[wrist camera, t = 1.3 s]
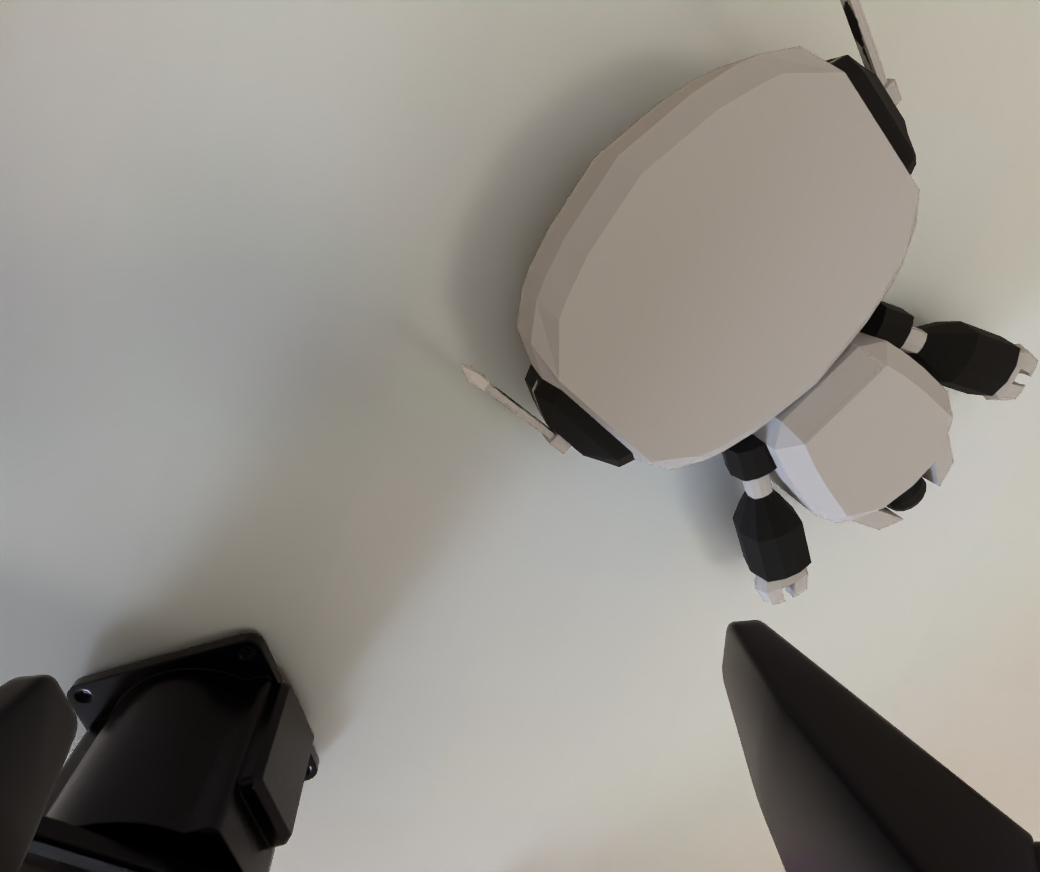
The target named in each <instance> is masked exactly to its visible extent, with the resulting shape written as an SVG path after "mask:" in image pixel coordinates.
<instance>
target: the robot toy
mask: <svg viewBox="0 0 1040 872" xmlns="http://www.w3.org/2000/svg"><path fill="white" fill-rule="evenodd" d="M840 1H841V4H842V6H843V9H844V12H845V15H846V17H847V20H848V23H849V25H850V28H851V31H852V34H853V36H854V39H855V42H856V44H857V47H858V50H859V53H860V55H861V58H862V61H863V63H864V66H865V67H863V66H862V65H860V64H859V63H858V62H857V61H855V60H854V59H853V58H851V57H850V56H849V55H845V56H841V57H838V58H834V59H830V60H827V61H825V60H823V59H821V58H819V57H818V56H816V55H814V54H812V53H811V52H809V51H807V50H806V49H804V48H802V47H800V46H799V47H794V48H789V49H784V50H779V51H774V52H769V53H764V54H759V55H755V56H752V57H749V58H746V59H743V60H740V61H738V62H735V63H732V64H729V65H726V66H723V67H720V68H717V69H715V70H713V71H711V72H709V73H707V74H705V75H702V76H700V77H698V78H696V79H695V80H693V81H692V82H690V83H689V84H687V85H685V86H684V87H682V88H681V89H679V90H678V91H676V92H675V93H673V94H672V95H670V96H669V97H667V98H666V99H664V100H663V101H661V102H660V103H658V104H657V105H656V106H655V107H654V108H652V109H651V110H650V111H649V112H648V113H647V114H645V115H644V116H643V117H642V118H641V119H639V120H638V121H637V122H636V123H635V124H634V125H632V126H631V127H630V128H629V129H628V130H627V131H625V132H624V133H623V134H622V135H621V136H619V137H618V138H617V139H616V140H615V141H614V142H612V143H611V144H610V145H609V146H608V147H607V148H605V149H604V150H603V151H602V152H601V153H599V154H598V155H597V156H596V157H595V158H594V159H593V160H592V162H591V164H590V165H589V167H588V168H587V170H586V171H585V173H584V174H583V176H582V178H581V179H580V181H579V182H578V184H577V185H576V187H575V188H574V190H573V192H572V193H571V195H570V196H569V198H568V199H567V201H566V202H565V204H564V206H563V207H562V209H561V210H560V212H559V213H558V215H557V216H556V218H555V219H554V221H553V223H552V224H551V226H550V227H549V229H548V230H547V232H546V235H545V237H544V239H543V241H542V243H541V245H540V247H539V249H538V251H537V253H536V255H535V257H534V259H533V261H532V263H531V265H530V267H529V270H528V273H527V276H526V278H525V281H524V284H523V287H522V292H521V299H520V307H519V315H518V323H517V329H518V331H519V334H520V336H521V339H522V341H523V344H524V347H525V349H526V352H527V354H528V357H529V359H530V362H531V366H530V368H529V370H528V373H527V375H526V377H525V381H526V383H527V386H528V388H529V391H530V393H531V396H532V398H533V400H534V402H535V404H536V406H537V408H538V410H539V412H540V414H541V416H542V417H543V419H544V420H545V422H546V424H547V425H548V426H549V427H547V426H546V425H545V424H544V423H542V422H541V421H540V420H538V419H537V418H536V417H534V416H533V415H532V414H531V413H529V412H528V411H527V410H525V409H524V408H523V407H521V406H520V405H519V404H517V403H516V402H515V401H514V400H512V399H511V398H510V397H508V396H507V395H506V394H504V393H503V392H502V391H500V390H499V389H498V388H497V387H495V386H494V385H493V384H491V383H490V382H489V381H488V380H487V379H486V377H485V376H484V375H483V374H481V373H480V372H479V371H477V370H476V369H475V368H474V367H472V366H467V365H460V367H461V369H462V371H463V372H464V374H465V376H466V377H467V379H468V380H469V381H470V382H471V383H473V384H474V385H475V386H477V387H478V388H479V389H481V390H482V391H483V390H485V391H487V392H488V393H489V394H491V395H492V396H493V397H495V398H496V399H497V400H499V401H500V402H501V403H503V404H504V405H505V406H507V407H508V408H509V409H511V410H512V411H513V412H515V413H516V414H517V415H519V416H520V417H521V418H523V419H524V420H525V421H527V422H528V423H529V424H531V425H532V426H533V427H535V428H536V429H537V430H539V431H540V432H541V433H542V434H543V436H544V437H545V438H546V439H547V441H548V442H549V443H550V444H551V445H552V446H553V447H555V448H556V449H557V450H559V451H560V452H562V453H563V454H564V453H565V452H566V451H567V450H568V448H569V447H570V446H571V445H572V446H573V447H574V448H575V449H576V450H577V451H579V452H580V453H581V454H582V455H584V456H587V457H590V458H593V459H597V460H600V461H603V462H606V463H609V464H612V465H615V466H618V467H621V466H623V465H625V464H627V463H629V462H631V461H632V460H638V461H641V462H645V463H649V464H652V465H656V466H659V467H663V468H667V469H670V470H671V469H675V468H678V467H682V466H686V465H690V464H693V463H697V462H701V461H704V460H707V459H709V458H711V457H713V456H715V455H717V454H719V453H721V452H722V453H723V457H724V461H725V464H726V466H727V468H728V470H729V472H730V474H731V475H732V476H734V477H736V478H739V479H741V480H743V484H744V488H745V492H744V494H743V495H742V497H741V499H740V501H739V503H738V506H737V508H736V511H735V513H734V516H733V521H734V524H735V528H736V531H737V535H738V538H739V542H740V545H741V549H742V552H743V556H744V558H745V560H746V563H747V565H748V567H749V569H750V571H751V572H753V573H754V574H756V577H755V588H756V590H757V592H758V593H759V595H760V596H761V598H762V599H763V601H766V602H768V603H770V604H780V603H782V602H784V601H785V600H784V596H783V591H782V588H784V587H785V589H786V591H787V592H789V593H790V594H791V596H792V597H795V596H797V595H799V594H801V593H802V592H803V591H805V590H806V589H807V582H808V572H807V568H806V567H807V566H808V565H809V564H810V563H811V559H810V555H809V550H808V546H807V541H806V537H805V533H804V528H803V524H802V521H801V519H800V518H799V516H798V515H797V513H796V512H795V510H794V509H793V507H792V506H791V505H790V504H789V503H788V502H787V501H786V500H785V499H784V498H783V497H782V496H781V495H780V494H779V493H777V492H776V491H775V490H774V489H773V488H772V486H771V482H770V478H771V480H772V481H773V482H774V483H776V484H777V485H778V486H779V487H781V488H782V489H783V490H784V491H786V492H787V493H788V494H789V495H791V496H792V497H793V498H794V499H796V500H797V501H798V502H799V503H801V504H802V505H803V506H804V507H806V508H807V509H808V510H809V511H811V512H812V513H813V514H814V515H817V516H819V517H822V518H825V519H827V520H830V521H832V522H835V523H837V522H846V521H854V522H857V523H860V524H863V525H866V526H869V527H872V528H875V529H878V530H879V529H882V528H884V527H887V526H889V525H891V524H894V523H896V522H898V521H901V520H903V519H902V518H901V517H899V516H898V515H896V514H895V513H893V512H892V511H890V510H889V509H887V508H886V506H887V507H889V508H890V509H893V510H895V511H905V510H908V509H911V508H913V507H914V506H915V505H917V504H918V503H919V502H920V501H921V500H922V498H923V497H924V494H925V492H926V482H925V481H924V479H923V478H922V477H924V478H926V479H927V480H929V481H931V482H933V483H934V484H936V485H938V486H940V485H941V483H942V482H943V480H944V478H945V476H946V474H947V473H948V471H949V469H950V467H951V465H952V464H953V457H952V451H951V446H950V440H949V435H948V432H949V429H950V426H951V423H952V411H951V406H950V402H949V397H948V393H947V390H946V389H945V388H944V387H943V386H945V387H948V388H952V389H955V390H958V391H961V392H964V393H967V394H975V395H983V396H984V397H985V398H986V400H1011V399H1016V398H1017V396H1018V395H1019V394H1020V393H1021V392H1022V390H1023V388H1024V387H1025V385H1023V384H1018V383H1016V382H1015V381H1014V380H1015V378H1016V376H1017V375H1018V373H1022V374H1026V375H1028V376H1030V377H1031V375H1032V373H1033V372H1034V370H1035V368H1036V366H1037V363H1038V360H1037V359H1036V358H1035V357H1034V356H1033V355H1032V354H1031V353H1030V352H1029V351H1028V350H1026V349H1025V348H1024V347H1023V346H1022V345H1020V344H1015V345H1014V344H1013V343H1011V342H1009V341H1008V340H1006V339H1004V338H1003V337H1001V336H998V335H996V334H993V333H990V332H988V331H985V330H982V329H980V328H977V327H974V326H971V325H969V324H966V323H963V322H961V321H951V322H934V323H930V324H926V325H922V326H919V327H917V328H916V327H913V326H912V324H913V320H914V317H913V316H912V315H910V314H909V313H907V312H906V311H904V310H903V309H901V308H899V307H896V306H893V305H891V304H888V303H885V302H882V301H881V300H882V299H883V297H884V296H885V294H886V293H887V291H888V290H889V288H890V287H891V285H892V283H893V281H894V279H895V277H896V276H897V274H898V272H899V270H900V268H901V266H902V264H903V261H904V258H905V255H906V252H907V249H908V246H909V243H910V240H911V238H912V235H913V232H914V229H915V226H916V221H917V210H918V200H919V188H918V187H917V185H916V184H915V182H914V181H913V179H912V177H911V176H910V175H911V173H912V171H913V169H914V167H915V165H916V155H915V152H914V149H913V147H912V144H911V141H910V139H909V136H908V133H907V129H906V124H905V120H904V119H903V117H902V115H901V114H900V112H899V111H898V109H897V107H896V105H897V104H898V103H899V101H900V100H901V96H900V93H899V90H898V87H897V84H896V81H895V79H886V76H885V73H884V70H883V67H882V64H881V61H880V58H879V56H878V53H877V50H876V47H875V44H874V41H873V38H872V35H871V33H870V30H869V27H868V24H867V21H866V18H865V15H864V12H863V10H862V7H861V4H860V1H859V0H840ZM921 476H922V477H921ZM769 477H770V478H769Z"/></svg>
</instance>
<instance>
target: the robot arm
mask: <svg viewBox="0 0 1040 872" xmlns="http://www.w3.org/2000/svg"><path fill="white" fill-rule="evenodd" d="M248 646H249V647H251V648H253V649H254V651H247V650H245V649H244V648H243V647H248ZM722 672H723V679H724V684H725V688H726V691H727V695H728V698H729V702H730V705H731V709H732V712H733V716H734V719H735V723H736V726H737V730H738V733H739V737H740V741H741V744H742V748H743V751H744V755H745V758H746V762H747V765H748V769H749V772H750V776H751V779H752V782H753V786H754V789H755V792H756V796H757V799H758V802H759V804H760V807H761V810H762V812H763V815H764V818H765V820H766V823H767V825H768V828H769V830H770V833H771V835H772V838H773V840H774V843H775V845H776V848H777V850H778V853H779V855H780V858H781V860H782V863H783V865H784V868H785V870H786V872H1040V842H1037V841H1036V842H1033V838H1032V836H1031V835H1030V834H1029V833H1028V832H1027V831H1026V830H1024V829H1023V828H1022V827H1020V826H1019V825H1018V824H1017V823H1015V822H1014V821H1013V820H1012V819H1010V818H1009V817H1008V816H1007V815H1005V814H1004V813H1003V812H1002V811H1000V810H999V809H998V808H997V807H995V806H994V805H993V804H991V803H990V802H989V801H988V800H986V799H985V798H984V797H983V796H981V795H980V794H979V793H978V792H976V791H975V790H974V789H973V788H971V787H970V786H969V785H968V784H966V783H965V782H964V781H963V780H961V779H960V778H959V777H957V776H956V775H955V774H954V773H952V772H951V771H950V770H949V769H947V768H946V767H945V766H944V765H942V764H941V763H940V762H939V761H937V760H936V759H935V758H934V757H932V756H931V755H930V754H928V753H927V752H926V751H925V750H923V749H922V748H921V747H920V746H918V745H917V744H916V743H915V742H913V741H912V740H911V739H910V738H908V737H907V736H906V735H905V734H903V733H902V732H901V731H900V730H898V729H897V728H896V727H894V726H893V725H892V724H891V723H889V722H888V721H887V720H886V719H884V718H883V717H882V716H881V715H879V714H878V713H877V712H876V711H874V710H873V709H872V708H871V707H869V706H868V705H867V704H866V703H864V702H863V701H862V700H860V699H859V698H858V697H857V696H855V695H854V694H853V693H852V692H850V691H849V690H848V689H847V688H845V687H844V686H843V685H842V684H840V683H839V682H838V681H837V680H835V679H834V678H833V677H831V676H830V675H829V674H828V673H826V672H825V671H824V670H823V669H821V668H820V667H819V666H818V665H816V664H815V663H814V662H813V661H811V660H810V659H809V658H808V657H806V656H805V655H804V654H803V653H801V652H800V651H799V650H797V649H796V648H795V647H794V646H792V645H791V644H790V643H789V642H787V641H786V640H785V639H784V638H782V637H781V636H780V635H779V634H777V633H776V632H775V631H774V630H772V629H771V628H770V627H768V626H767V625H766V624H765V623H763V622H761V621H758V620H750V621H737V622H732V623H730V624H729V625H728V627H727V631H726V639H725V647H724V656H723V664H722ZM83 691H87V692H89V693H90V694H86V693H84V692H83ZM67 698H68V700H67ZM67 698H66V696H65V694H64V693H63V691H62V689H61V687H60V686H59V684H58V682H57V681H56V679H55V678H53V677H51V676H50V675H35V676H22V677H18V678H14V679H12V680H10V681H8V682H7V683H5V684H4V685H2V686H1V687H0V872H269V870H270V866H271V862H272V858H273V854H274V850H275V847H277V846H281V845H284V844H286V843H287V842H288V840H289V838H290V836H291V835H292V832H293V827H294V823H295V818H296V814H297V810H298V805H299V801H300V796H301V792H302V788H303V783H304V781H306V780H309V779H311V778H313V777H314V776H315V775H316V773H317V770H318V765H319V758H318V755H317V753H316V751H315V749H314V747H313V745H312V744H313V739H314V735H313V733H312V730H311V728H310V726H309V724H308V722H307V719H306V717H305V715H304V713H303V711H302V708H301V706H300V704H299V702H298V700H297V697H296V695H295V693H294V691H293V689H292V687H291V686H290V685H289V684H288V683H286V682H284V681H283V679H282V677H281V675H280V673H279V670H278V668H277V666H276V664H275V662H274V660H273V657H272V655H271V653H270V651H269V649H268V647H267V644H266V642H265V640H264V639H263V638H262V637H261V636H259V635H258V634H254V633H245V634H241V635H237V636H234V637H230V638H226V639H223V640H219V641H215V642H211V643H208V644H204V645H200V646H196V647H193V648H189V649H185V650H182V651H178V652H174V653H170V654H167V655H163V656H159V657H155V658H152V659H148V660H144V661H141V662H137V663H133V664H129V665H126V666H122V667H118V668H114V669H111V670H107V671H103V672H100V673H96V674H92V675H88V676H85V677H82V678H80V679H78V680H77V681H76V682H75V683H74V684H73V686H72V687H71V688H70V690H69V691H68V693H67ZM70 704H71V705H70ZM71 706H72V707H73V708H72V707H71ZM73 709H74V710H73ZM74 711H75V712H76V714H77V715H78V717H79V719H80V720H81V722H82V723H83V725H84V727H85V728H86V730H87V732H86V733H85V735H84V736H83V738H82V739H81V741H80V742H79V744H78V745H77V747H76V748H75V750H74V751H73V753H72V754H71V755H70V757H69V758H68V760H67V761H66V763H65V764H64V762H65V760H66V757H67V755H68V752H69V750H70V747H71V745H72V742H73V740H74V737H75V734H76V730H77V716H76V714H75V712H74ZM63 764H64V766H63Z"/></svg>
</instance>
